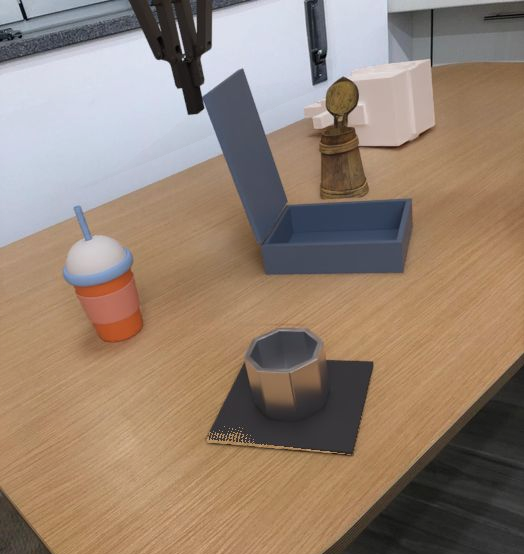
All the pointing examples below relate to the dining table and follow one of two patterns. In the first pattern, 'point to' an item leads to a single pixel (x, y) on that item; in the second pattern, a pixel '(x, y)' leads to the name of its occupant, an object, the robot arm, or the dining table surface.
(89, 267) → the cup with straw
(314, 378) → the octagonal metal cup
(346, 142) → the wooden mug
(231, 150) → the lid
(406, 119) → the blocky voxel creature
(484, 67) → the dining table surface
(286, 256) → the blue storage box
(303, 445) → the mat
